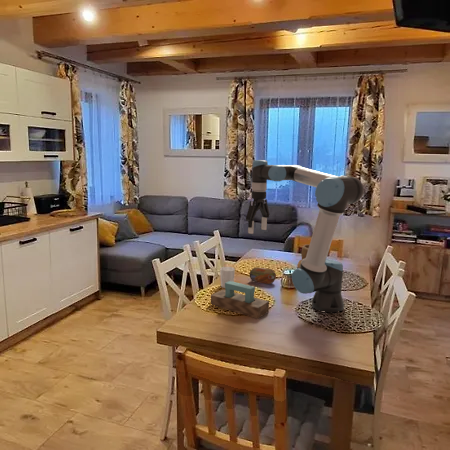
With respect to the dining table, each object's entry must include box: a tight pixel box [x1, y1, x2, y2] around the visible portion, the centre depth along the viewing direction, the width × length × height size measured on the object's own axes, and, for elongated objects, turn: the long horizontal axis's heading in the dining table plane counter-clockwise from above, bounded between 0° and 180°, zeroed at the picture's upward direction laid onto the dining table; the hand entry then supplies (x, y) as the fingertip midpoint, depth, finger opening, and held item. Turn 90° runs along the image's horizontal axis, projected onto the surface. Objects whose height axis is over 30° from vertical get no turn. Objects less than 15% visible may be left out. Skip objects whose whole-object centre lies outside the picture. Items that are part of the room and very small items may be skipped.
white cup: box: [219, 266, 236, 289], centre depth 220 cm, size 8×8×10 cm
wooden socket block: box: [210, 289, 270, 319], centre depth 190 cm, size 26×10×5 cm, turn 55°
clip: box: [224, 281, 256, 303], centre depth 190 cm, size 14×4×10 cm, turn 55°
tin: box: [249, 266, 277, 285], centre depth 228 cm, size 15×3×8 cm, turn 68°
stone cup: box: [296, 244, 310, 268], centre depth 258 cm, size 15×12×15 cm
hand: (257, 231), depth 211 cm, fingers open, 13 cm apart
